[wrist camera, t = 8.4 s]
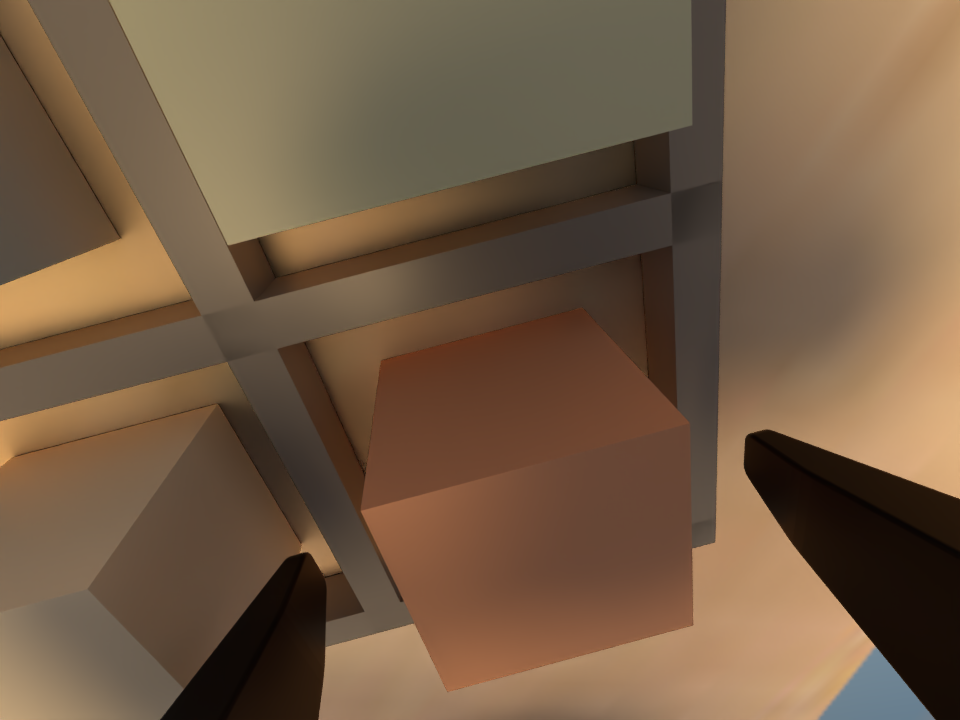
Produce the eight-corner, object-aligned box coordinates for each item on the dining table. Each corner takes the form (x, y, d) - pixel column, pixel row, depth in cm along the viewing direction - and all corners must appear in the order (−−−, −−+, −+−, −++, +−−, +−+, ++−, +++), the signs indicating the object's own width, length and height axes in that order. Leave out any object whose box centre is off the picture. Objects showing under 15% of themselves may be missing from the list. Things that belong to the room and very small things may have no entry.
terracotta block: (601, 462, 14) (693, 625, 9) (436, 506, 14) (447, 691, 9) (581, 306, 11) (689, 423, 7) (381, 359, 11) (360, 510, 7)
